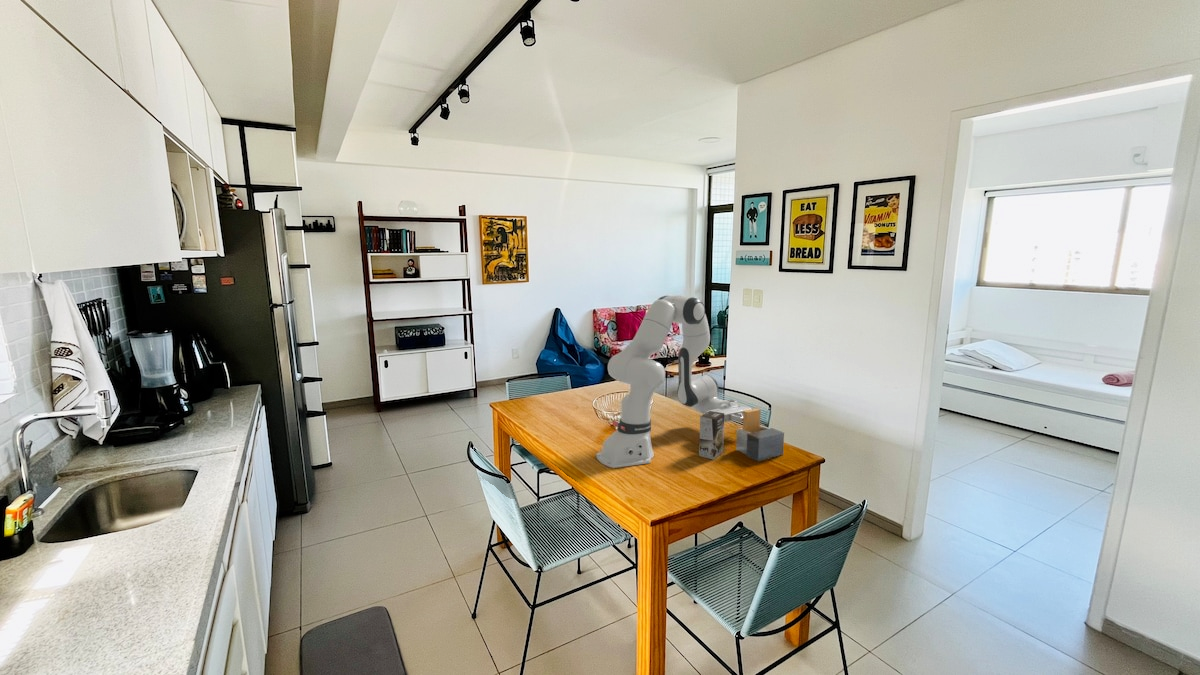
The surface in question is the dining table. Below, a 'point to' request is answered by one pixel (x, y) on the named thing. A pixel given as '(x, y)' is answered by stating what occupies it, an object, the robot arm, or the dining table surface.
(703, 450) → the coffee box
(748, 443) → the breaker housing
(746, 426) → the breaker paddle
